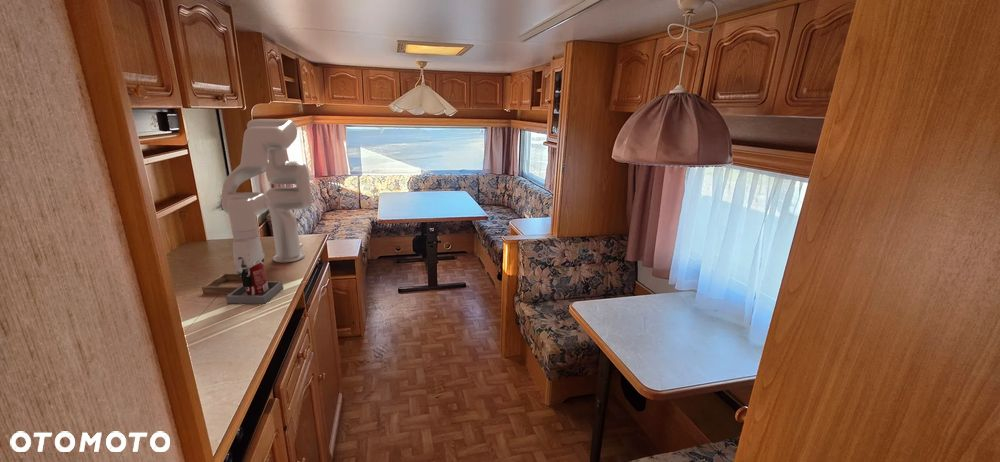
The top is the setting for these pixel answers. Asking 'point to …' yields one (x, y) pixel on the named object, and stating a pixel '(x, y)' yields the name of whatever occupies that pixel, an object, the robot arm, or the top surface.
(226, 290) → the wooden tray
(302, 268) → the top surface
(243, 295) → the grey tray
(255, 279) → the soda can
